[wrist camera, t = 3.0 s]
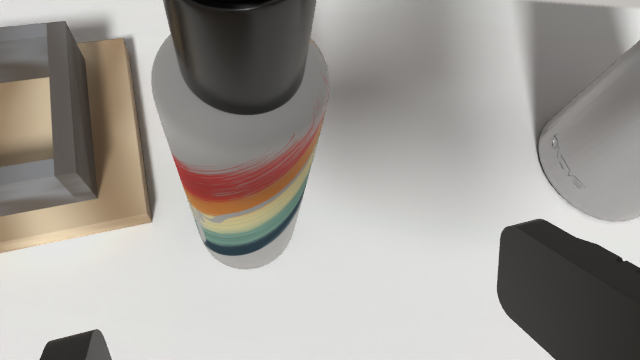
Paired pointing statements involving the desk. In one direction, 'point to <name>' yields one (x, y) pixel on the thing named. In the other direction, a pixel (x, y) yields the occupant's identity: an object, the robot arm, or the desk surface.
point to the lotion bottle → (242, 118)
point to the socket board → (67, 138)
